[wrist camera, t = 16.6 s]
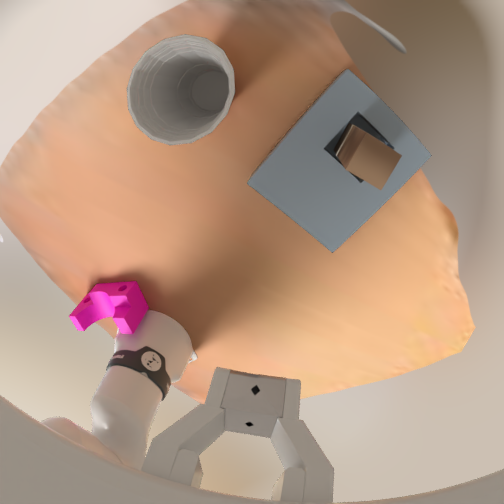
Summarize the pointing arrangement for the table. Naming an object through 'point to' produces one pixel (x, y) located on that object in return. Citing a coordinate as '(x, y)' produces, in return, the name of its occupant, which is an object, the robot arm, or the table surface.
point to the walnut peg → (366, 156)
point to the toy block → (112, 306)
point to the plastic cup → (180, 89)
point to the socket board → (335, 163)
